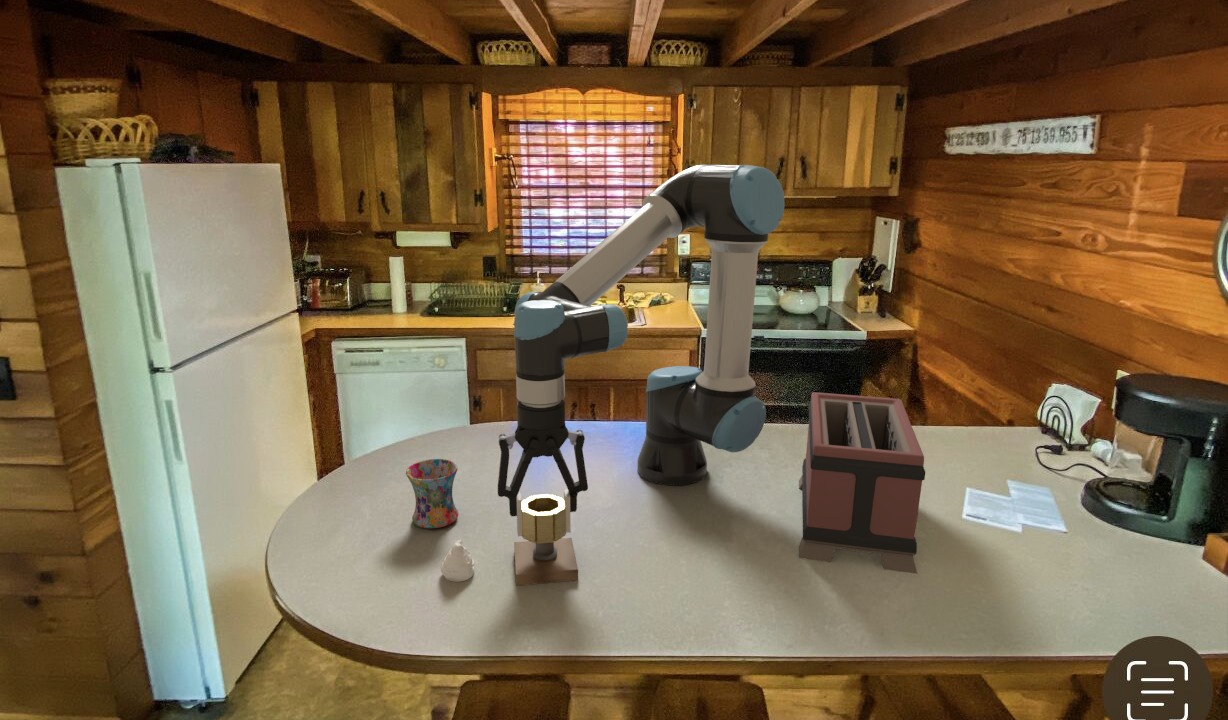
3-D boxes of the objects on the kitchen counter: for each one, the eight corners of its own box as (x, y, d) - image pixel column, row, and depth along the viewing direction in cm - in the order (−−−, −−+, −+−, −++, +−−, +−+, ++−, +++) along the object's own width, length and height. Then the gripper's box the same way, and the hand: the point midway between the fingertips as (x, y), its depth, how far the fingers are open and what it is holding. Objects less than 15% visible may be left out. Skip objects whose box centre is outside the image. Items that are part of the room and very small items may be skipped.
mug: (452, 534, 131) (448, 481, 128) (402, 531, 132) (398, 479, 129) (470, 503, 143) (467, 453, 140) (425, 501, 143) (421, 451, 140)
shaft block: (571, 547, 127) (571, 501, 124) (578, 580, 117) (577, 530, 115) (514, 552, 125) (512, 505, 123) (516, 585, 116) (514, 535, 113)
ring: (563, 519, 123) (562, 493, 122) (567, 541, 117) (567, 513, 115) (521, 522, 122) (520, 496, 121) (522, 544, 115) (522, 516, 114)
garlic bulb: (469, 551, 115) (435, 550, 115) (471, 584, 116) (437, 583, 116) (476, 533, 120) (443, 533, 120) (478, 565, 122) (446, 564, 122)
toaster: (893, 484, 151) (904, 392, 145) (917, 574, 120) (933, 460, 114) (798, 475, 156) (806, 384, 150) (798, 558, 124) (807, 448, 118)
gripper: (600, 389, 118) (600, 515, 124) (476, 395, 115) (482, 523, 121) (607, 404, 111) (607, 537, 117) (475, 411, 108) (481, 546, 114)
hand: (543, 530), depth 119 cm, fingers closed on ring, 7 cm apart
